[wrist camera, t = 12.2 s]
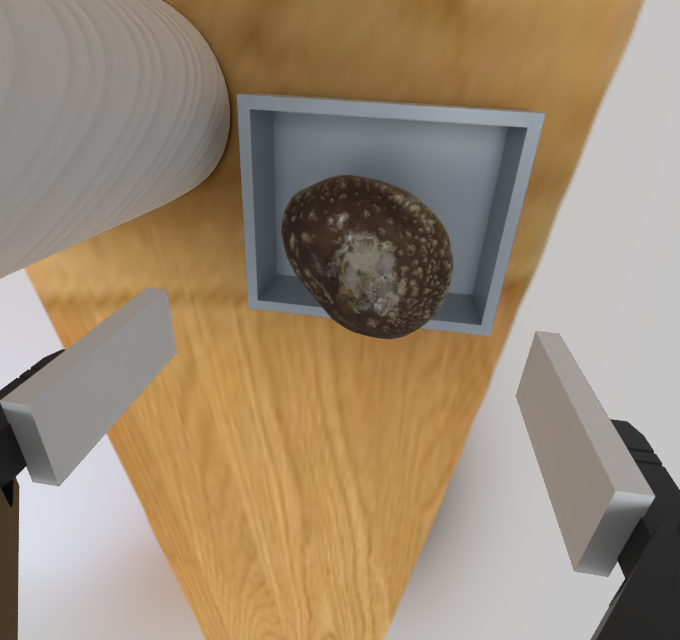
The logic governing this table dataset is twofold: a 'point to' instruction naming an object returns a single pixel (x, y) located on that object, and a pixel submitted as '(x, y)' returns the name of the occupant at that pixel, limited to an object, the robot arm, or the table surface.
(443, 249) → the mushroom
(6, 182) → the vase
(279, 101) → the bin
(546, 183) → the table surface
